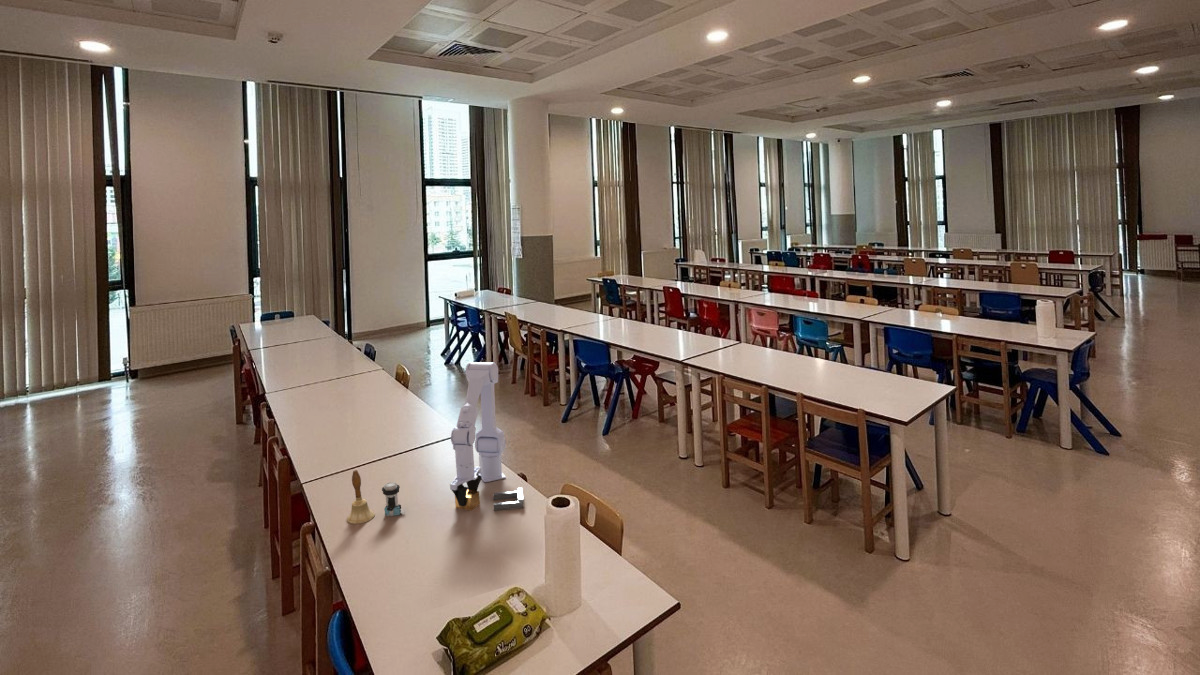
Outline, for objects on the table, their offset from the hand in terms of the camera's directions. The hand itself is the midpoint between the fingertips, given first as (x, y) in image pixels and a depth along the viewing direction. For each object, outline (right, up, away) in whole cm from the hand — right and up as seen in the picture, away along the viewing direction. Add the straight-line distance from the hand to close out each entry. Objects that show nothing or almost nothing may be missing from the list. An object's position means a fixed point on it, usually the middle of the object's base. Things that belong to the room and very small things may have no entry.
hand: (467, 501), depth 198 cm
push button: (-22, -3, -4) cm, 23 cm away
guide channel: (+13, -1, +1) cm, 13 cm away
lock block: (0, -2, 0) cm, 2 cm away
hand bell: (-32, -4, -6) cm, 33 cm away
